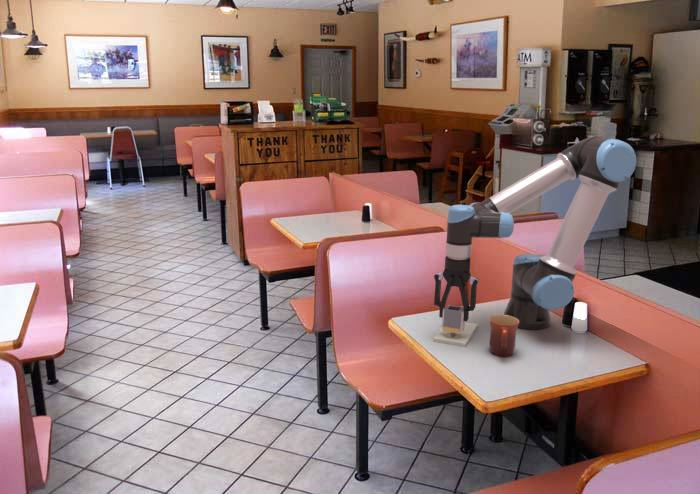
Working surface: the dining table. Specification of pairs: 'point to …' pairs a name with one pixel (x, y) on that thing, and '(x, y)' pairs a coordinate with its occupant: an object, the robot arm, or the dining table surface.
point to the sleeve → (452, 318)
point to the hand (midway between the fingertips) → (452, 328)
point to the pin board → (456, 335)
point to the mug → (503, 334)
